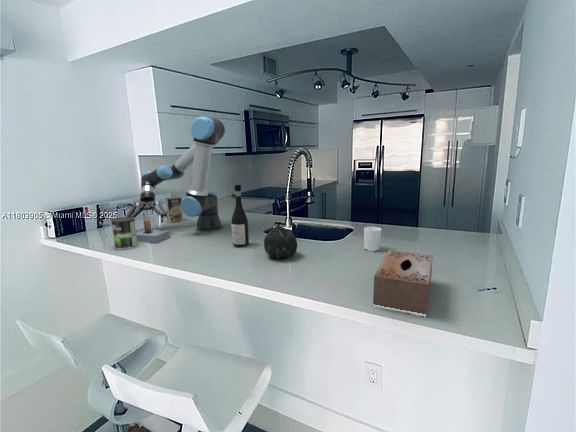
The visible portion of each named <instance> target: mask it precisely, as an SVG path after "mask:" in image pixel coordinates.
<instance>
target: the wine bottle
mask: <svg viewBox="0 0 576 432" xmlns="http://www.w3.org/2000/svg"><path fill="white" fill-rule="evenodd" d="M234 194H235V207H234V210H233V211H234V212H233V213H232V217H231V223H230V225H231V241H232V245H233V246H234V247H236V248H243V246H244V247H246V246H248V245H249V243H250V239H249V236H250V235H249V220H248V217H247V214H246V212H245V211H244V207H243V205H242V204H243V203H242V185H241V184H234Z"/></svg>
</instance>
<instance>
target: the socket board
mask: <svg viewBox="0 0 576 432" xmlns="http://www.w3.org/2000/svg"><path fill="white" fill-rule="evenodd" d="M136 230H137V231H136V238H137V243H149V244H159V243H161V242H164V241H166V240H168V239H170V230H164V229H163V230H162V229H161V230H160V229H151V233H150V234H145V229H144V228H140V229H136Z"/></svg>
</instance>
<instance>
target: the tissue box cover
mask: <svg viewBox="0 0 576 432" xmlns="http://www.w3.org/2000/svg"><path fill="white" fill-rule="evenodd" d="M433 258H434V256H433V255H430V254H424V253H423V254H422V253H415V252H409V251H408V252H407V251H398V250H391V249H389V250H388V251H387V253H386V255H385V257H384V258H383V260H382V261H381V263H380V265H379V267H378V268H377V270H376V272H375V274H374V277H373V282H374V283H373V295H372V296H373V297H372V298H373V299H372V302H373V303H372V305H373V304H375V305H380V306H384V307H390V308H395V309H400V310H406V311H411V312H417V313H422V314H427V313H428V308H427V307H428V306H429V300H428V299H430V292H429V291H431V284H430V282H432V272H433V271H432V269H433Z"/></svg>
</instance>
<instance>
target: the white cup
mask: <svg viewBox="0 0 576 432" xmlns="http://www.w3.org/2000/svg"><path fill="white" fill-rule="evenodd" d="M381 239H382V228H381V227H377V226H365V227H364V228H363V245H364V246H363V247H364V248H365V249H368V250H378V249H379V250H380V247H381V246H380V245H381V241H382V240H381ZM365 249H364V250H365Z"/></svg>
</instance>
